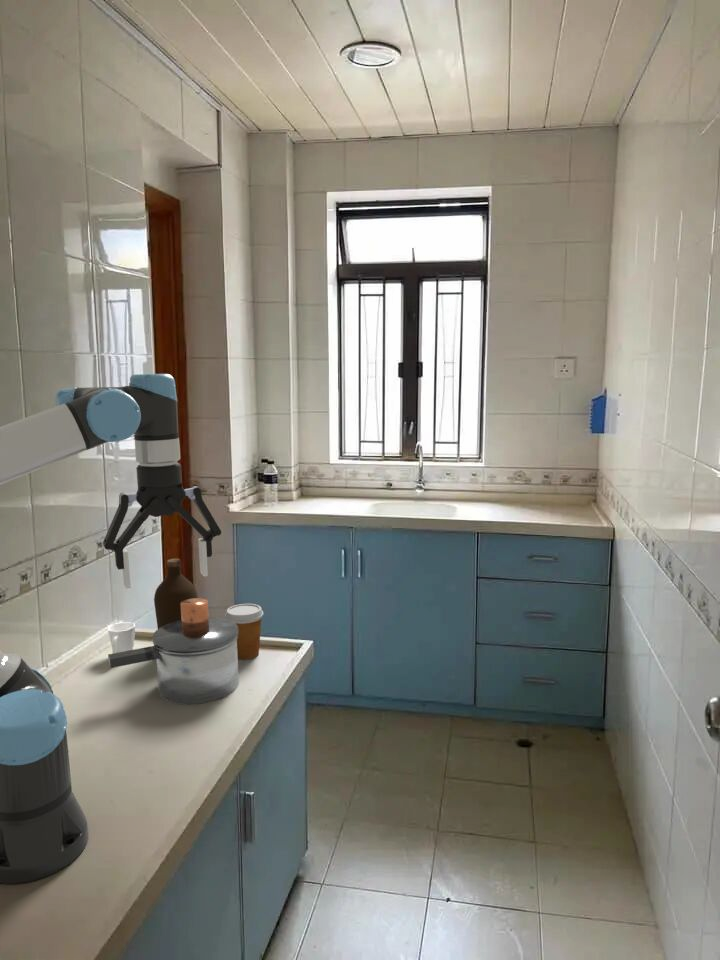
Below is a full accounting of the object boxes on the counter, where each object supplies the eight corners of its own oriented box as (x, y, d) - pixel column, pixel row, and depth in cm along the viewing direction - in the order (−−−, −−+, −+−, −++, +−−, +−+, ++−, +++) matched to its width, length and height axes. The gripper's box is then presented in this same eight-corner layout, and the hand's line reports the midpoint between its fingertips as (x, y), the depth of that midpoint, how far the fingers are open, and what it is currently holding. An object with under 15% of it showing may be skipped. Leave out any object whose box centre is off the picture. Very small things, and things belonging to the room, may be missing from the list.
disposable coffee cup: (257, 663, 175) (255, 616, 173) (221, 660, 177) (218, 614, 175) (270, 648, 184) (268, 603, 182) (235, 646, 186) (233, 602, 184)
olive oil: (164, 667, 174) (157, 568, 170) (153, 652, 183) (146, 558, 179) (206, 657, 179) (201, 561, 175) (193, 643, 188) (187, 552, 184)
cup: (141, 650, 184) (139, 621, 183) (129, 667, 174) (127, 635, 173) (114, 651, 184) (112, 621, 183) (100, 667, 174) (98, 636, 173)
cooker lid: (162, 659, 149) (159, 623, 148) (145, 630, 166) (143, 597, 164) (249, 642, 157) (247, 607, 156) (225, 616, 174) (223, 584, 173)
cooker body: (119, 723, 147) (114, 668, 145) (107, 687, 163) (103, 638, 161) (250, 692, 159) (248, 642, 157) (227, 662, 176) (224, 616, 174)
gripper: (222, 455, 133) (228, 565, 136) (80, 466, 122) (90, 585, 125) (234, 459, 126) (240, 575, 129) (84, 471, 115) (95, 597, 119)
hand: (166, 580), depth 127 cm, fingers open, 13 cm apart
